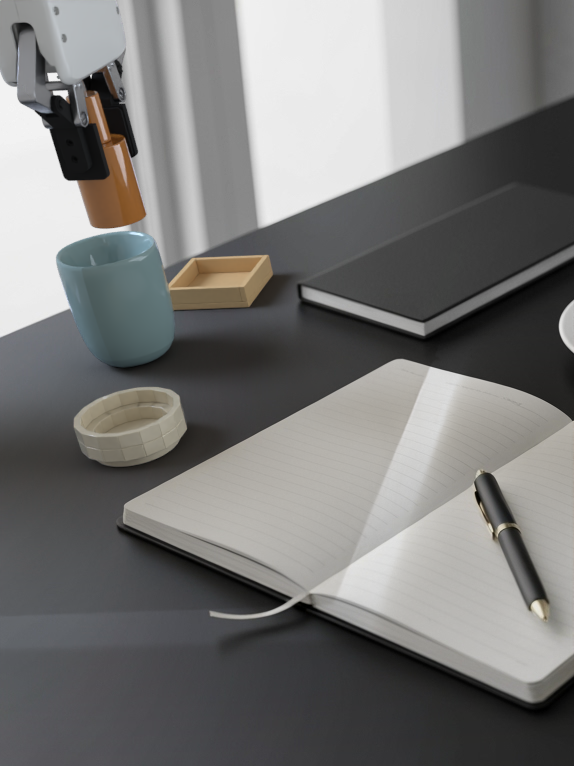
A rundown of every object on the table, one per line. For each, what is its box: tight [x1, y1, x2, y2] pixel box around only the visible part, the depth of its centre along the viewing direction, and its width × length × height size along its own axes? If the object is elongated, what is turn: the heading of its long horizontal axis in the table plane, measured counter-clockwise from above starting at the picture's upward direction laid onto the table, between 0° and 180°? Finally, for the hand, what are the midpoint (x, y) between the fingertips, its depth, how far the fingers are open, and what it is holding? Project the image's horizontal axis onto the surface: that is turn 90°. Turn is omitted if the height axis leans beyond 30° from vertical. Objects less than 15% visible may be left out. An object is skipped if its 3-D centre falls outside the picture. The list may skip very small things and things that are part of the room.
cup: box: [55, 230, 176, 368], centre depth 107 cm, size 8×8×10 cm
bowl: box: [73, 386, 188, 468], centre depth 95 cm, size 7×7×3 cm
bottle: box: [65, 91, 148, 230], centre depth 93 cm, size 4×4×10 cm
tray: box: [168, 254, 274, 311], centre depth 120 cm, size 8×8×2 cm
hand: (102, 165), depth 94 cm, fingers closed on bottle, 4 cm apart
